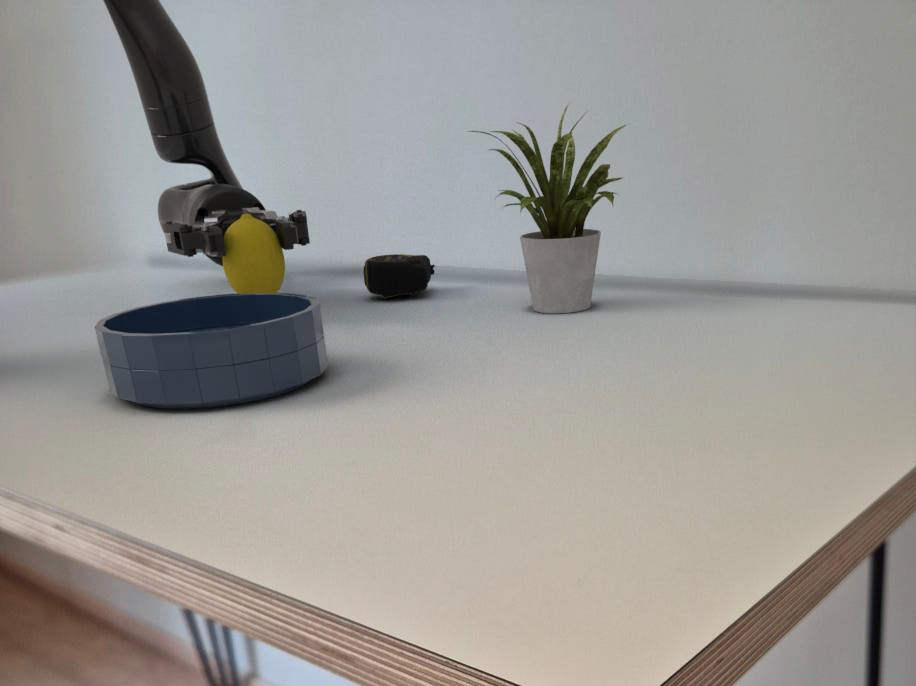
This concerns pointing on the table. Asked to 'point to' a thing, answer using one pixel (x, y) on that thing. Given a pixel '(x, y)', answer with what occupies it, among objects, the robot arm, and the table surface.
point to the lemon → (253, 257)
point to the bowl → (213, 349)
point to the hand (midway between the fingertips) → (254, 240)
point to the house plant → (560, 222)
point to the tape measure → (397, 274)
